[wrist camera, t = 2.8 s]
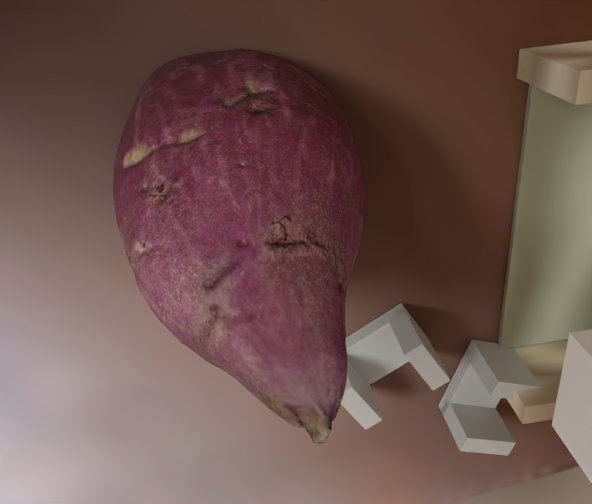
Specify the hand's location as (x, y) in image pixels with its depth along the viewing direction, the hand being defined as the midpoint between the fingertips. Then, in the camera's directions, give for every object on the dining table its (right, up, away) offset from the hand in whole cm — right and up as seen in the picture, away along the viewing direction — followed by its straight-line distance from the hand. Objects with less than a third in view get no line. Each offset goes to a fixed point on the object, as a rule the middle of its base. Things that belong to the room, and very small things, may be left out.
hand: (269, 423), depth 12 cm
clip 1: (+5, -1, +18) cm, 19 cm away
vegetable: (-2, +7, +13) cm, 15 cm away
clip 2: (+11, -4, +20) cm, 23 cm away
